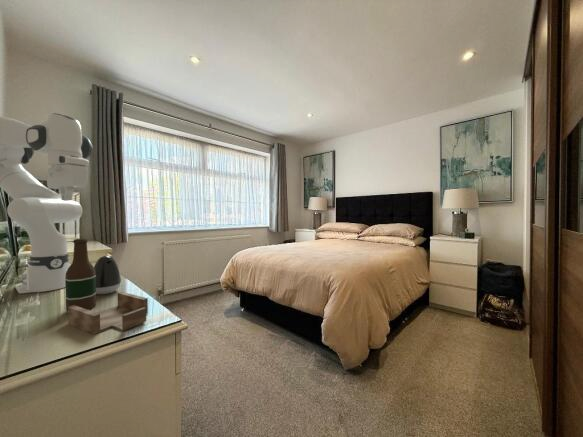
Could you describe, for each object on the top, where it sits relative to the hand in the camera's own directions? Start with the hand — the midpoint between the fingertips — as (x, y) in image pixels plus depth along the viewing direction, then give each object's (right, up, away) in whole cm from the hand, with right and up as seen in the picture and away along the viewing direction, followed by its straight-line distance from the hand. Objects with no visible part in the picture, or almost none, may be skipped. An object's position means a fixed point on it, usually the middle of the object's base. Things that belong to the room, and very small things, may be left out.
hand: (66, 200), depth 85 cm
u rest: (+26, -38, -12) cm, 47 cm away
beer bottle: (+8, -38, -3) cm, 38 cm away
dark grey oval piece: (+4, -37, +13) cm, 40 cm away
